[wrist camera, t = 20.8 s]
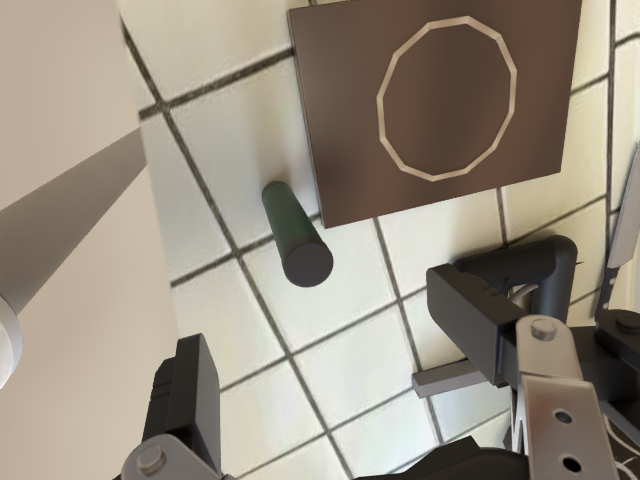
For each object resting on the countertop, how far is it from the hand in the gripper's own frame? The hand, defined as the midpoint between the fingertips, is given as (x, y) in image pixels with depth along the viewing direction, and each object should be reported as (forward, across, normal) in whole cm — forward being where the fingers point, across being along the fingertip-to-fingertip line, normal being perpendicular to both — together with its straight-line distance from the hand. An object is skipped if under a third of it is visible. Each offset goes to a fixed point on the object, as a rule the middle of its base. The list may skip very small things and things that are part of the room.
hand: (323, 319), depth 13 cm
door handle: (+15, -18, +19) cm, 30 cm away
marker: (+15, -1, 0) cm, 15 cm away
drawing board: (+15, -14, -4) cm, 20 cm away
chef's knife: (+15, -32, +12) cm, 38 cm away
